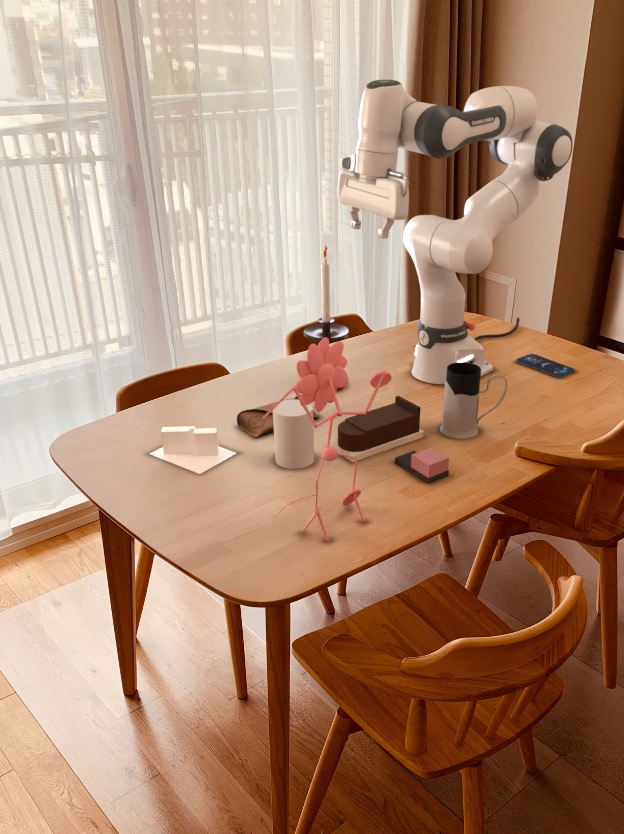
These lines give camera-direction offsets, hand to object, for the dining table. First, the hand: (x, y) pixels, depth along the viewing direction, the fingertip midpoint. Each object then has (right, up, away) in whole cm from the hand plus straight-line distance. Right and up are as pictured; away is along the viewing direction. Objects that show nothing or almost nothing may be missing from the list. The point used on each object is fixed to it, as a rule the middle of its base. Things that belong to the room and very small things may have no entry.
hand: (368, 233), depth 176 cm
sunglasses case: (-21, -41, +8) cm, 47 cm away
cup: (-16, -51, -7) cm, 53 cm away
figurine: (-8, -63, -26) cm, 68 cm away
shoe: (+2, -46, +1) cm, 46 cm away
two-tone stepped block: (+11, -53, -9) cm, 55 cm away
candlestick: (-11, -30, +26) cm, 41 cm away
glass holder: (+23, -43, +7) cm, 49 cm away
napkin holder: (-37, -49, -6) cm, 62 cm away
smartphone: (+47, -22, +40) cm, 66 cm away
